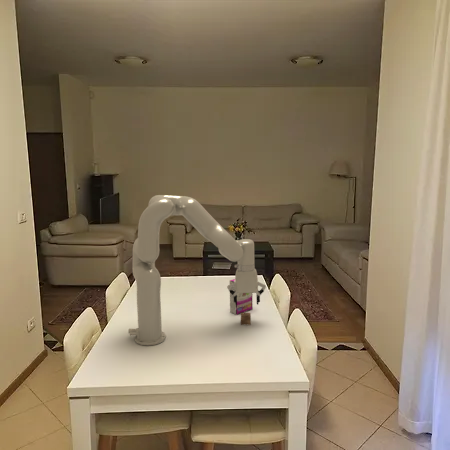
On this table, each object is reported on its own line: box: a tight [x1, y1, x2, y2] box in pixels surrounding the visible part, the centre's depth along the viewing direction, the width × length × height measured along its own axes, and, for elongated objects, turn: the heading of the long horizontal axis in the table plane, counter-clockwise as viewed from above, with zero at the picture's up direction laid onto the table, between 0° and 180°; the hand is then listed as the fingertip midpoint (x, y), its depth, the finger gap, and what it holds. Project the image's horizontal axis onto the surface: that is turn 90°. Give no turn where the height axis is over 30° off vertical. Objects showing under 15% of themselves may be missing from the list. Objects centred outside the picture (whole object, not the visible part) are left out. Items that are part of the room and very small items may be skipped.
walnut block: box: [240, 312, 252, 326], centre depth 183 cm, size 4×4×4 cm
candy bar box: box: [229, 278, 253, 316], centre depth 196 cm, size 11×5×16 cm, turn 131°
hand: (246, 303), depth 182 cm, fingers open, 9 cm apart
